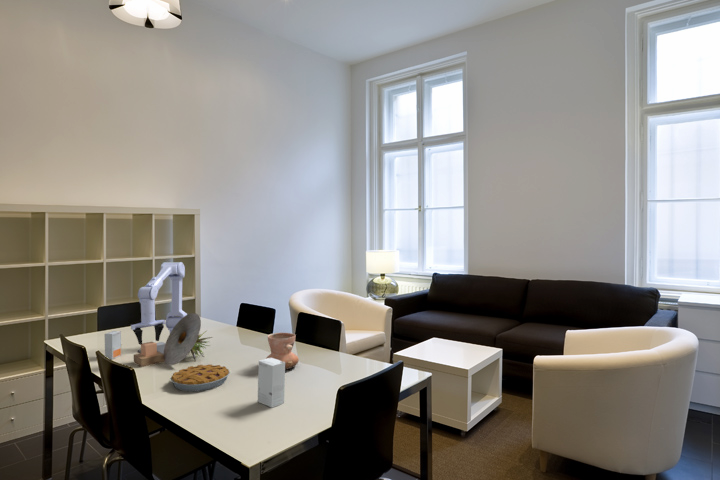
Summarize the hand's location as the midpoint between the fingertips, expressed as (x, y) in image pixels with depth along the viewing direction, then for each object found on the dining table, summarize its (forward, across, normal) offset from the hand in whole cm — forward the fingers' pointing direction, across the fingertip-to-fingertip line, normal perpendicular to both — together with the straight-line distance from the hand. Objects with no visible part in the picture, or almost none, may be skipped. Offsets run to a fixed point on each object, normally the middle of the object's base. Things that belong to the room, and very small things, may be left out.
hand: (148, 342), depth 204 cm
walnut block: (+10, 0, 0) cm, 10 cm away
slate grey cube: (+9, +9, +10) cm, 16 cm away
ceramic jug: (+9, +35, -52) cm, 63 cm away
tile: (+9, +7, +18) cm, 21 cm away
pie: (+10, +2, -43) cm, 44 cm away
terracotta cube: (+6, 0, 0) cm, 6 cm away
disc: (+9, +14, -10) cm, 19 cm away
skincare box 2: (+9, +8, -81) cm, 82 cm away
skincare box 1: (+9, -8, +21) cm, 24 cm away
